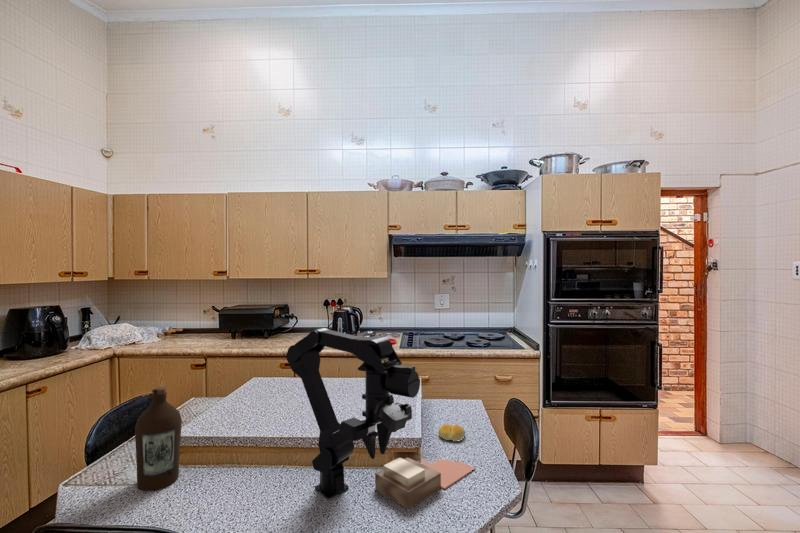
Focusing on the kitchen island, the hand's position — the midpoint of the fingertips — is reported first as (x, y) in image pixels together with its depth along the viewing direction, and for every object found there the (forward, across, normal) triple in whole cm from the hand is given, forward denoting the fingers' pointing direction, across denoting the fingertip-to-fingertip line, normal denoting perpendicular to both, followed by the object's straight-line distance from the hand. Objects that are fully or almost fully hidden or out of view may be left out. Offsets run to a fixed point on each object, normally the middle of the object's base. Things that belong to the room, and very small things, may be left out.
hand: (377, 455), depth 89 cm
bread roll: (+12, +44, +11) cm, 47 cm away
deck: (+12, +10, 0) cm, 16 cm away
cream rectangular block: (+8, +9, 0) cm, 12 cm away
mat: (+12, +24, 0) cm, 27 cm away
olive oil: (+12, -34, +50) cm, 62 cm away
